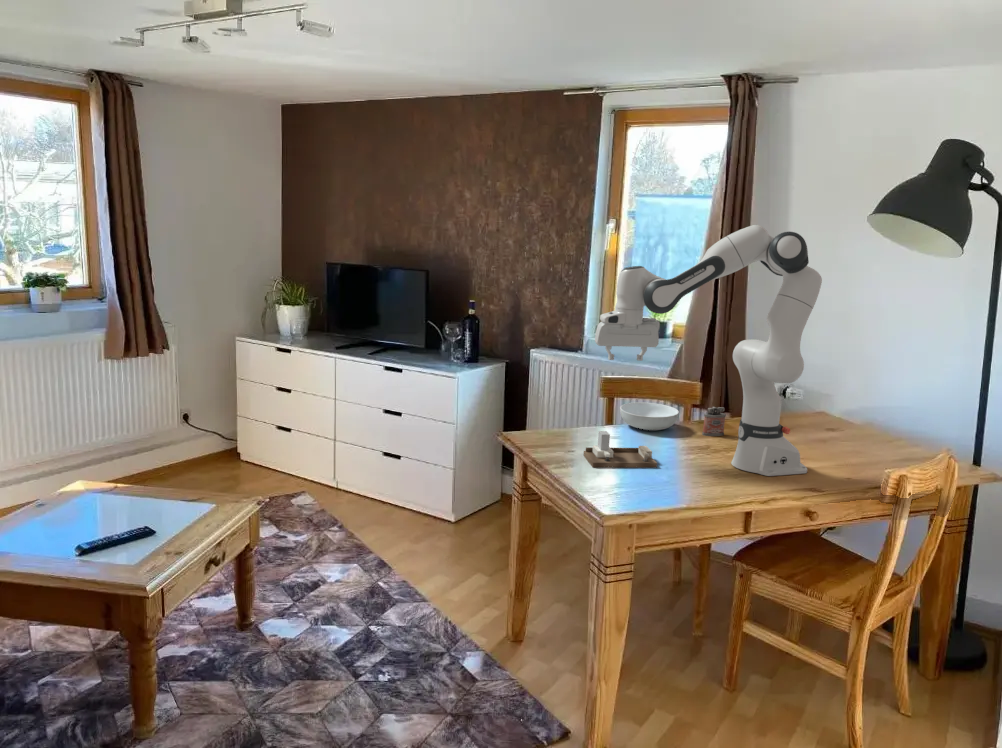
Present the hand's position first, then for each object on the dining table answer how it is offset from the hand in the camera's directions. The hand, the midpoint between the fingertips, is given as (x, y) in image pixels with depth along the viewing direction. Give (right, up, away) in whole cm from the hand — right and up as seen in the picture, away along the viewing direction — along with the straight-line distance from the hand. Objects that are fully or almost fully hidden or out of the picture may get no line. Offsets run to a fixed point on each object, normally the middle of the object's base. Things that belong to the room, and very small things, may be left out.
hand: (625, 360), depth 257 cm
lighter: (+35, -26, +27) cm, 51 cm away
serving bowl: (+13, -24, +33) cm, 43 cm away
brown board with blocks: (-3, -32, -9) cm, 33 cm away
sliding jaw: (-8, -30, -10) cm, 33 cm away
